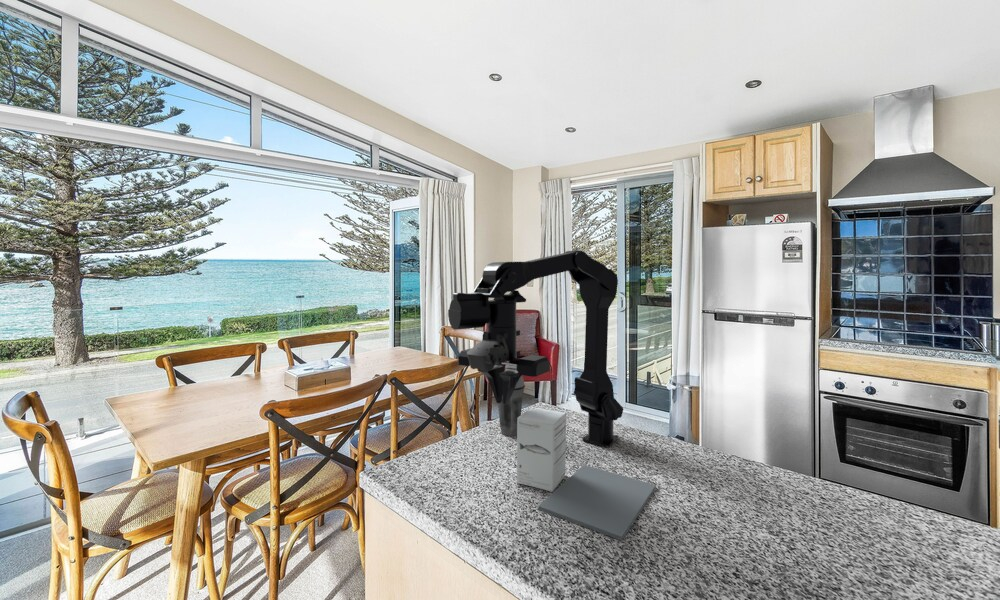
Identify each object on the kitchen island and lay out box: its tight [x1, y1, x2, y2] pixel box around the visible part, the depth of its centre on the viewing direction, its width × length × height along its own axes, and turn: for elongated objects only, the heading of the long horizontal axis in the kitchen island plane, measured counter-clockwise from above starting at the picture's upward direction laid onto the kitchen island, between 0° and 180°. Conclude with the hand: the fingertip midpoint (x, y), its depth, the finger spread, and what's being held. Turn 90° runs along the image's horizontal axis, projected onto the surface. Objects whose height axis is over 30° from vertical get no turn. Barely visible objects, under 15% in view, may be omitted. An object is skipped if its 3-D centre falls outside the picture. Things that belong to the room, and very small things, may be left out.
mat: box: [537, 464, 657, 541], centre depth 72 cm, size 18×14×1 cm
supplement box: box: [516, 407, 567, 493], centre depth 78 cm, size 7×7×13 cm
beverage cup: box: [497, 361, 526, 437], centre depth 102 cm, size 7×7×20 cm
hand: (502, 403), depth 83 cm, fingers closed
